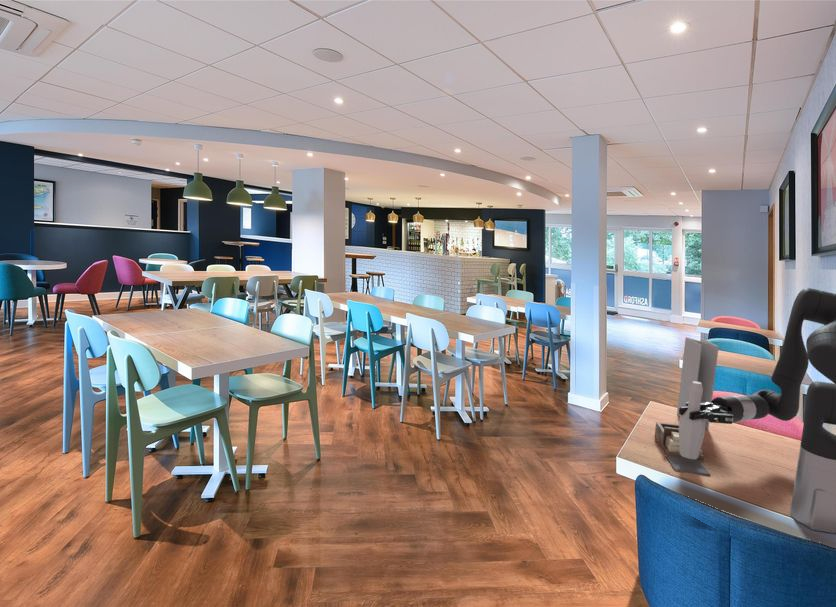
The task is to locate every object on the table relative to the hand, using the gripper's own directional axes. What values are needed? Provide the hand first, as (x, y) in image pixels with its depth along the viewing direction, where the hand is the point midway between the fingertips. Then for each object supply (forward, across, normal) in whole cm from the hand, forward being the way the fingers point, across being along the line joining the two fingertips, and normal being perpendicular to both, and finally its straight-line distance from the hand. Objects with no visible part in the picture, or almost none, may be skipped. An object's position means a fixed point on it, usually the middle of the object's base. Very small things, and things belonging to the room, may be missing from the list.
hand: (685, 413), depth 129 cm
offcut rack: (-9, -10, +16) cm, 21 cm away
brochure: (-33, -28, +17) cm, 46 cm away
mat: (-2, 0, +16) cm, 16 cm away
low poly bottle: (-3, 0, +13) cm, 14 cm away
